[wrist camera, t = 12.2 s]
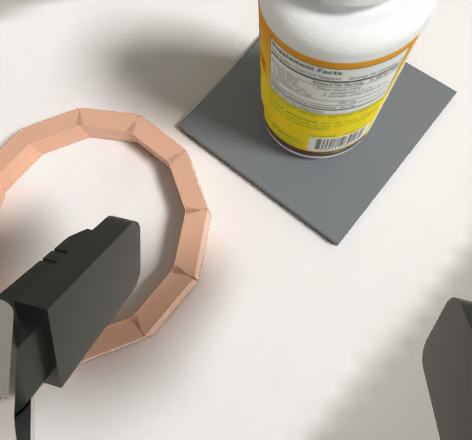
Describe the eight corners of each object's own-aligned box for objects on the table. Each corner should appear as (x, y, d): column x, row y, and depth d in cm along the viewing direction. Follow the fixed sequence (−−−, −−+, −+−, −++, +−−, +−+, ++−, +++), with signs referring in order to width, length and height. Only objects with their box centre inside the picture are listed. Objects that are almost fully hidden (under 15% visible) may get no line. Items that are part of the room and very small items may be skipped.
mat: (180, 129, 20) (179, 125, 20) (296, 4, 22) (296, -2, 21) (337, 245, 18) (338, 244, 17) (453, 96, 19) (456, 91, 19)
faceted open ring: (-74, 247, 19) (-96, 242, 18) (90, 84, 21) (80, 70, 20) (84, 416, 17) (71, 423, 15) (257, 211, 18) (256, 203, 17)
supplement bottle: (302, 48, 20) (338, -211, 10) (393, 101, 19) (530, -135, 9) (238, 124, 19) (211, -82, 10) (329, 185, 18) (405, 21, 8)
